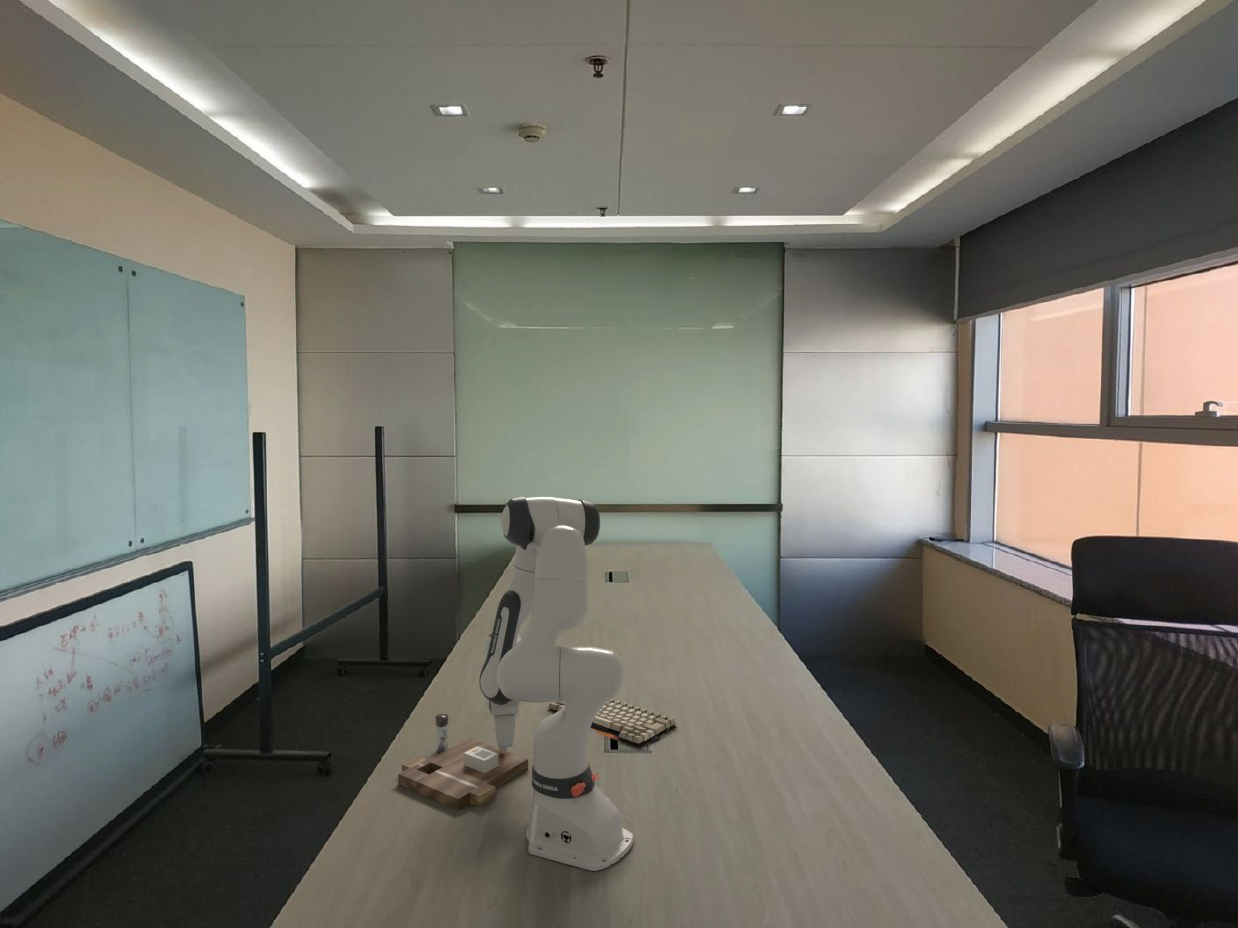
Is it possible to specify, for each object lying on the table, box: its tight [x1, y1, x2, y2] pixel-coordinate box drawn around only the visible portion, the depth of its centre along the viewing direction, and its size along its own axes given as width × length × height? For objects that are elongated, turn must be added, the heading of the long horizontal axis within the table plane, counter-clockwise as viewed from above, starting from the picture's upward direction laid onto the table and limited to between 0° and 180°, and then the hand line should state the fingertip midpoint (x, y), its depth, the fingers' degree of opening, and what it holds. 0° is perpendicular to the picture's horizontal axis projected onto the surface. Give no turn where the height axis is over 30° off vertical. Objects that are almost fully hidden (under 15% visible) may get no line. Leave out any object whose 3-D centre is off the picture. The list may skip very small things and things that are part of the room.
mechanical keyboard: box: [547, 698, 678, 749], centre depth 209 cm, size 38×19×3 cm, turn 51°
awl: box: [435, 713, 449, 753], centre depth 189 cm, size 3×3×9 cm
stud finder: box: [464, 746, 498, 773], centre depth 175 cm, size 7×4×3 cm, turn 56°
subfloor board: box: [397, 738, 529, 811], centre depth 175 cm, size 26×23×2 cm
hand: (503, 749), depth 181 cm, fingers closed
